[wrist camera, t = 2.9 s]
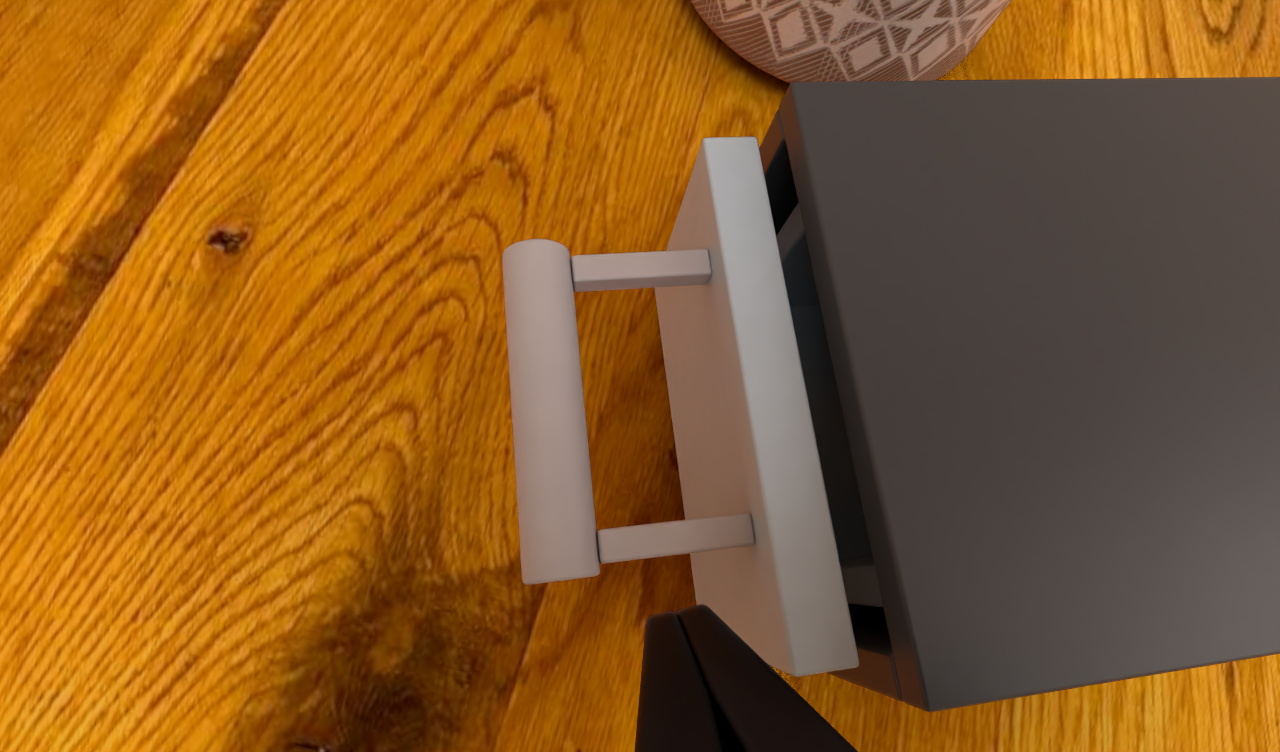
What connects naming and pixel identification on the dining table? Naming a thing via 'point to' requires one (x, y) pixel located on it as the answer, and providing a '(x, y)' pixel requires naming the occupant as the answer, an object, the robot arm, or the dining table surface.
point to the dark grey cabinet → (1049, 370)
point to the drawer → (705, 420)
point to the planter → (851, 36)
